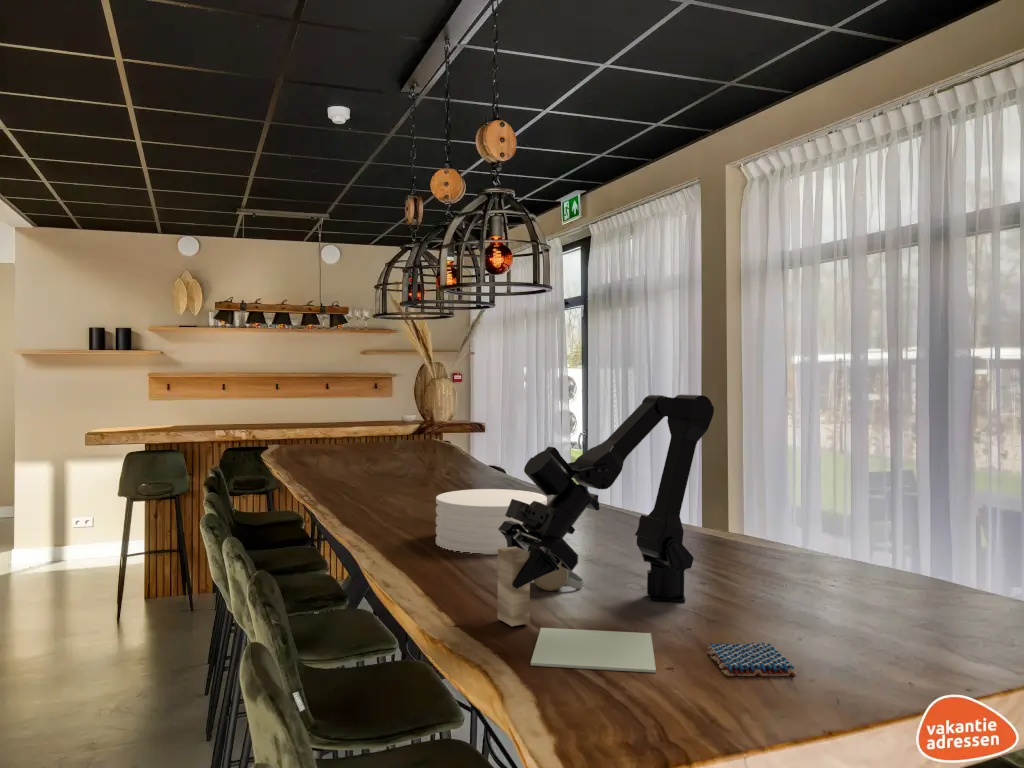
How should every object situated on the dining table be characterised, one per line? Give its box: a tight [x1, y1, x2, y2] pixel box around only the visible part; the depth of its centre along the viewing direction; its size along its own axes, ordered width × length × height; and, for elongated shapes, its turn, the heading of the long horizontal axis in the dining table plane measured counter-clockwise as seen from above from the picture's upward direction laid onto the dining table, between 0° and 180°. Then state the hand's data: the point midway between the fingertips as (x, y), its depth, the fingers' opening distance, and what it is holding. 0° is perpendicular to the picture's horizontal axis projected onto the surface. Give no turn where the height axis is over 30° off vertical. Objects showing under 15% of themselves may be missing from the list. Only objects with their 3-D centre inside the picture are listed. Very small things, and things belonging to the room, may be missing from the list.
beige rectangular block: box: [497, 547, 531, 627], centre depth 134 cm, size 4×5×12 cm
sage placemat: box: [529, 627, 657, 674], centre depth 121 cm, size 18×16×1 cm
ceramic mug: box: [533, 561, 584, 592], centre depth 157 cm, size 11×8×8 cm
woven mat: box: [706, 642, 797, 677], centre depth 116 cm, size 10×11×2 cm
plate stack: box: [435, 488, 548, 555], centre depth 199 cm, size 28×28×12 cm
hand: (506, 582), depth 133 cm, fingers closed on beige rectangular block, 5 cm apart
